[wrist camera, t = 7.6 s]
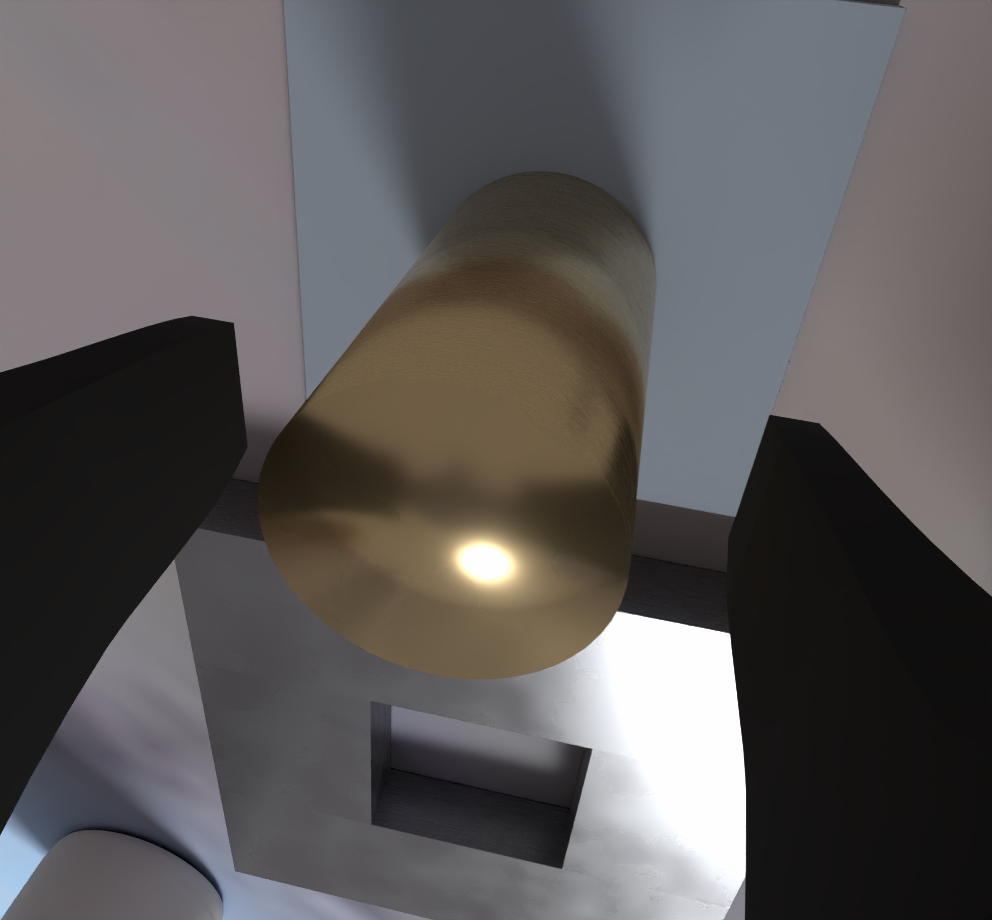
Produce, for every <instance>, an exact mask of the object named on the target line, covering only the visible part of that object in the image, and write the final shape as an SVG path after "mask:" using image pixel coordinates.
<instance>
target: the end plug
mask: <svg viewBox="0 0 992 920" xmlns="http://www.w3.org/2000/svg"><path fill="white" fill-rule="evenodd" d="M655 300H656V269H655V262H654V258H653V255H652V251H651V248H650V245H649V243H648V241H647V239H646V236H645V234H644V232H643V231H642V229H641V227H640V226H639V224H638V223H637V221H636V220H635V218H634V217H633V216H632V215H631V214H630V212H629V211H628V210H627V209H626V208H625V207H624V206H623V205H622V204H621V203H620V202H619V201H618V200H617V199H616V198H615V197H613V196H612V195H610V194H609V193H607V192H606V191H605V190H603V189H602V188H600V187H598V186H596V185H594V184H592V183H590V182H588V181H586V180H583V179H580V178H578V177H575V176H572V175H567V174H563V173H558V172H547V171H534V172H523V173H518V174H513V175H509V176H506V177H503V178H500V179H497V180H495V181H493V182H491V183H489V184H487V185H485V186H483V187H482V188H480V189H479V190H477V191H476V192H475V193H473V194H472V195H470V196H469V197H468V198H467V199H466V200H465V201H464V202H463V203H462V204H461V205H460V206H459V207H458V208H457V210H456V211H455V212H454V213H453V215H452V216H451V217H450V219H449V220H448V221H447V222H446V224H445V225H444V226H443V227H442V229H441V230H440V231H439V233H438V234H437V235H436V236H435V238H434V239H433V240H432V241H431V243H430V244H429V245H428V246H427V248H426V249H425V250H424V252H423V253H422V254H421V255H420V257H419V258H418V259H417V260H416V262H415V263H414V264H413V266H412V267H411V268H410V269H409V271H408V272H407V273H406V274H405V276H404V277H403V278H402V279H401V281H400V282H399V283H398V285H397V286H396V287H395V288H394V290H393V291H392V292H391V293H390V295H389V296H388V297H387V299H386V300H385V301H384V302H383V304H382V305H381V306H380V307H379V309H378V310H377V311H376V312H375V314H374V315H373V316H372V318H371V319H370V320H369V321H368V323H367V324H366V325H365V326H364V328H363V329H362V330H361V332H360V333H359V334H358V335H357V337H356V338H355V339H354V340H353V342H352V343H351V344H350V346H349V347H348V348H347V349H346V351H345V352H344V353H343V354H342V356H341V357H340V358H339V359H338V361H337V362H336V363H335V365H334V366H333V367H332V368H331V370H330V371H329V372H328V373H327V375H326V376H325V377H324V379H323V380H322V381H321V382H320V384H319V385H318V386H317V387H316V389H315V390H314V391H313V392H312V394H311V395H310V396H309V398H308V399H307V400H306V401H305V403H304V404H303V405H302V406H301V408H300V409H299V410H298V412H297V413H296V414H295V415H294V417H293V418H292V419H291V420H290V422H289V423H288V424H287V425H286V427H285V428H284V429H283V431H282V432H281V433H280V434H279V436H278V437H277V438H276V439H275V441H274V443H273V445H272V447H271V449H270V450H269V452H268V454H267V456H266V459H265V462H264V465H263V468H262V471H261V474H260V480H259V488H258V513H259V519H260V524H261V530H262V533H263V536H264V539H265V542H266V545H267V548H268V551H269V553H270V555H271V557H272V559H273V561H274V563H275V565H276V567H277V569H278V570H279V572H280V573H281V575H282V576H283V578H284V579H285V581H286V583H287V584H288V585H289V587H290V588H291V589H292V590H293V592H294V593H295V594H296V595H297V596H298V598H299V599H300V600H301V601H302V602H303V603H304V604H305V605H306V606H307V607H308V608H309V609H310V610H311V611H312V612H313V613H314V614H315V615H316V616H317V617H318V618H319V619H321V620H322V621H323V622H324V623H325V624H327V625H328V626H329V627H330V628H331V629H333V630H334V631H336V632H337V633H339V634H340V635H341V636H343V637H344V638H346V639H347V640H349V641H350V642H352V643H354V644H356V645H357V646H359V647H361V648H363V649H364V650H366V651H368V652H370V653H372V654H374V655H377V656H379V657H381V658H383V659H385V660H387V661H390V662H393V663H395V664H398V665H401V666H404V667H407V668H409V669H413V670H417V671H421V672H425V673H428V674H433V675H439V676H444V677H450V678H460V679H472V680H479V679H502V678H511V677H517V676H522V675H527V674H531V673H535V672H538V671H541V670H544V669H547V668H550V667H553V666H555V665H557V664H559V663H561V662H563V661H565V660H567V659H569V658H571V657H573V656H574V655H576V654H577V653H579V652H580V651H582V650H583V649H585V648H586V647H587V646H589V645H590V644H591V643H592V642H593V641H594V640H595V639H596V638H597V637H598V636H600V635H601V633H602V632H603V631H604V630H605V628H606V627H607V626H608V625H609V623H610V622H611V621H612V619H613V617H614V616H615V614H616V612H617V610H618V608H619V607H620V605H621V602H622V599H623V596H624V593H625V591H626V588H627V582H628V576H629V569H630V560H631V550H632V539H633V529H634V519H635V508H636V498H637V488H638V477H639V467H640V456H641V446H642V436H643V425H644V415H645V404H646V394H647V384H648V373H649V363H650V352H651V342H652V332H653V321H654V311H655Z"/></svg>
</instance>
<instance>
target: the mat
mask: <svg viewBox="0 0 992 920" xmlns="http://www.w3.org/2000/svg"><path fill="white" fill-rule="evenodd" d="M905 11H906V8H904V7H902V6H898V5H889V4H881V3H872V2H863V1H855V0H284V16H285V33H286V50H287V68H288V85H289V102H290V119H291V137H292V154H293V171H294V189H295V206H296V223H297V240H298V258H299V275H300V292H301V310H302V327H303V344H304V361H305V379H306V396H307V399H308V398H309V396H310V395H311V394H312V392H313V391H314V390H315V389H316V387H317V386H318V385H319V384H320V382H321V381H322V380H323V379H324V377H325V376H326V375H327V373H328V372H329V371H330V370H331V368H332V367H333V366H334V365H335V363H336V362H337V361H338V359H339V358H340V357H341V356H342V354H343V353H344V352H345V351H346V349H347V348H348V347H349V346H350V344H351V343H352V342H353V340H354V339H355V338H356V337H357V335H358V334H359V333H360V332H361V330H362V329H363V328H364V326H365V325H366V324H367V323H368V321H369V320H370V319H371V318H372V316H373V315H374V314H375V312H376V311H377V310H378V309H379V307H380V306H381V305H382V304H383V302H384V301H385V300H386V299H387V297H388V296H389V295H390V293H391V292H392V291H393V290H394V288H395V287H396V286H397V285H398V283H399V282H400V281H401V279H402V278H403V277H404V276H405V274H406V273H407V272H408V271H409V269H410V268H411V267H412V266H413V264H414V263H415V262H416V260H417V259H418V258H419V257H420V255H421V254H422V253H423V252H424V250H425V249H426V248H427V246H428V245H429V244H430V243H431V241H432V240H433V239H434V238H435V236H436V235H437V234H438V233H439V231H440V230H441V229H442V227H443V226H444V225H445V224H446V222H447V221H448V220H449V219H450V217H451V216H452V215H453V213H454V212H455V211H456V210H457V208H458V207H459V206H460V205H461V204H462V203H463V202H464V201H465V200H466V199H467V198H468V197H469V196H470V195H472V194H473V193H475V192H476V191H477V190H479V189H480V188H482V187H483V186H485V185H487V184H489V183H491V182H493V181H495V180H497V179H500V178H503V177H506V176H509V175H513V174H518V173H523V172H534V171H547V172H558V173H563V174H567V175H572V176H575V177H578V178H580V179H583V180H586V181H588V182H590V183H592V184H594V185H596V186H598V187H600V188H602V189H603V190H605V191H606V192H607V193H609V194H610V195H612V196H613V197H615V198H616V199H617V200H618V201H619V202H620V203H621V204H622V205H623V206H624V207H625V208H626V209H627V210H628V211H629V212H630V214H631V215H632V216H633V217H634V218H635V220H636V221H637V223H638V224H639V226H640V227H641V229H642V231H643V232H644V234H645V236H646V239H647V241H648V243H649V245H650V248H651V251H652V255H653V258H654V262H655V269H656V300H655V311H654V321H653V332H652V342H651V352H650V363H649V373H648V384H647V394H646V404H645V415H644V425H643V436H642V446H641V456H640V467H639V477H638V488H637V498H636V499H640V500H645V501H651V502H656V503H661V504H667V505H672V506H678V507H683V508H689V509H694V510H700V511H705V512H711V513H716V514H721V515H727V516H732V517H736V514H737V511H738V508H739V505H740V502H741V499H742V496H743V493H744V490H745V487H746V484H747V481H748V478H749V475H750V472H751V469H752V466H753V463H754V460H755V457H756V454H757V451H758V448H759V445H760V442H761V439H762V436H763V433H764V430H765V427H766V424H767V421H768V418H769V415H771V413H772V410H773V407H774V404H775V401H776V398H777V395H778V392H779V389H780V386H781V383H782V380H783V377H784V374H785V371H786V368H787V365H788V362H789V359H790V356H791V353H792V350H793V347H794V344H795V341H796V338H797V335H798V332H799V329H800V326H801V323H802V320H803V317H804V314H805V311H806V308H807V305H808V302H809V299H810V296H811V293H812V290H813V287H814V284H815V281H816V278H817V275H818V272H819V269H820V266H821V263H822V260H823V257H824V254H825V251H826V248H827V245H828V242H829V239H830V236H831V233H832V230H833V227H834V224H835V221H836V218H837V215H838V212H839V209H840V206H841V203H842V200H843V197H844V194H845V191H846V188H847V185H848V182H849V179H850V176H851V173H852V170H853V167H854V164H855V161H856V158H857V155H858V152H859V149H860V146H861V143H862V140H863V137H864V134H865V131H866V128H867V125H868V122H869V119H870V116H871V113H872V110H873V107H874V104H875V101H876V98H877V95H878V92H879V89H880V86H881V83H882V80H883V77H884V74H885V71H886V68H887V65H888V62H889V59H890V56H891V53H892V50H893V47H894V44H895V41H896V38H897V35H898V32H899V29H900V26H901V23H902V20H903V17H904V14H905Z"/></svg>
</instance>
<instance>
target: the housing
mask: <svg viewBox="0 0 992 920" xmlns="http://www.w3.org/2000/svg"><path fill="white" fill-rule="evenodd" d="M258 488H259V484H255V483H250V482H245V481H239V480H234V479H230V481H229V483H228V485H227V486H226V488H225V490H224V492H223V493H222V495H221V497H220V498H219V500H218V502H217V503H216V505H215V506H214V507H213V509H212V510H211V512H210V513H209V514H208V516H207V517H206V518H205V520H204V521H203V522H202V523H201V525H200V526H199V527H198V529H197V530H196V531H195V533H194V534H193V535H192V537H191V538H190V539H189V541H188V542H187V543H186V544H185V546H184V547H183V548H182V550H181V551H180V552H179V553H178V555H177V556H176V557H175V563H176V568H177V573H178V578H179V584H180V589H181V594H182V599H183V604H184V609H185V615H186V620H187V625H188V630H189V635H190V640H191V646H192V651H193V656H194V661H195V666H196V671H197V677H198V682H199V687H200V692H201V697H202V702H203V708H204V713H205V718H206V723H207V728H208V733H209V739H210V744H211V749H212V754H213V759H214V764H215V769H216V775H217V780H218V785H219V790H220V795H221V800H222V806H223V811H224V816H225V821H226V826H227V831H228V837H229V842H230V847H231V852H232V857H233V862H234V868H235V871H237V872H241V873H245V874H249V875H253V876H257V877H261V878H265V879H269V880H274V881H278V882H282V883H286V884H290V885H294V886H298V887H302V888H306V889H310V890H314V891H318V892H323V893H327V894H331V895H335V896H339V897H343V898H347V899H351V900H355V901H359V902H363V903H368V904H372V905H376V906H380V907H384V908H388V909H392V910H396V911H400V912H404V913H408V914H413V915H417V916H421V917H425V918H429V919H433V920H723V919H724V917H725V915H726V913H727V911H728V909H729V907H730V905H731V903H732V901H733V899H734V898H735V896H736V894H737V892H738V890H739V888H740V886H741V884H742V882H743V880H744V878H745V876H746V788H745V773H744V758H743V747H742V739H741V730H740V721H739V712H738V704H737V695H736V686H735V677H734V669H733V660H732V651H731V642H730V632H729V623H728V613H727V573H722V572H717V571H711V570H706V569H701V568H696V567H690V566H685V565H680V564H675V563H669V562H664V561H659V560H654V559H648V558H643V557H638V556H633V555H631V560H630V569H629V576H628V582H627V588H626V591H625V593H624V596H623V599H622V602H621V605H620V607H619V608H618V610H617V612H616V614H615V616H614V617H613V619H612V621H611V622H610V623H609V625H608V626H607V627H606V628H605V630H604V631H603V632H602V633H601V635H600V636H598V637H597V638H596V639H595V640H594V641H593V642H592V643H591V644H590V645H589V646H587V647H586V648H585V649H583V650H582V651H580V652H579V653H577V654H576V655H574V656H573V657H571V658H569V659H567V660H565V661H563V662H561V663H559V664H557V665H555V666H553V667H550V668H547V669H544V670H541V671H538V672H535V673H531V674H527V675H522V676H517V677H511V678H502V679H479V680H472V679H460V678H450V677H444V676H439V675H433V674H428V673H425V672H421V671H417V670H413V669H409V668H407V667H404V666H401V665H398V664H395V663H393V662H390V661H387V660H385V659H383V658H381V657H379V656H377V655H374V654H372V653H370V652H368V651H366V650H364V649H363V648H361V647H359V646H357V645H356V644H354V643H352V642H350V641H349V640H347V639H346V638H344V637H343V636H341V635H340V634H339V633H337V632H336V631H334V630H333V629H331V628H330V627H329V626H328V625H327V624H325V623H324V622H323V621H322V620H321V619H319V618H318V617H317V616H316V615H315V614H314V613H313V612H312V611H311V610H310V609H309V608H308V607H307V606H306V605H305V604H304V603H303V602H302V601H301V600H300V599H299V598H298V596H297V595H296V594H295V593H294V592H293V590H292V589H291V588H290V587H289V585H288V584H287V583H286V581H285V579H284V578H283V576H282V575H281V573H280V572H279V570H278V569H277V567H276V565H275V563H274V561H273V559H272V557H271V555H270V553H269V551H268V548H267V545H266V542H265V539H264V536H263V533H262V530H261V524H260V519H259V513H258ZM391 705H393V706H397V707H402V708H406V709H411V710H416V711H420V712H425V713H430V714H434V715H439V716H443V717H448V718H453V719H457V720H462V721H466V722H471V723H476V724H480V725H485V726H489V727H494V728H499V729H503V730H508V731H512V732H517V733H522V734H526V735H531V736H535V737H540V738H545V739H549V740H554V741H558V742H563V743H568V744H572V745H577V746H582V747H585V749H584V753H583V757H582V761H581V765H580V769H579V773H578V778H577V782H576V786H575V790H574V794H573V798H572V802H571V806H570V809H566V808H561V807H557V806H552V805H548V804H544V803H539V802H535V801H530V800H526V799H521V798H517V797H513V796H508V795H504V794H499V793H495V792H490V791H486V790H481V789H477V788H473V787H468V786H464V785H459V784H455V783H450V782H446V781H442V780H437V779H433V778H428V777H424V776H419V775H415V774H411V773H406V772H402V771H397V770H393V769H390V750H391Z"/></svg>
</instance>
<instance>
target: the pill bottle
mask: <svg viewBox="0 0 992 920" xmlns="http://www.w3.org/2000/svg"><path fill="white" fill-rule="evenodd" d="M222 919H223V904H222V901H221V898H220V896H219V894H218V893H217V891H216V890H215V888H214V887H213V886H212V884H211V883H210V882H209V881H208V880H207V879H206V878H205V877H204V876H203V875H202V874H201V873H199V872H198V871H197V870H196V869H195V868H193V867H192V866H191V865H189V864H188V863H186V862H185V861H183V860H182V859H180V858H179V857H177V856H175V855H174V854H172V853H170V852H168V851H166V850H164V849H162V848H160V847H158V846H156V845H154V844H151V843H149V842H146V841H144V840H141V839H138V838H135V837H131V836H128V835H124V834H120V833H115V832H109V831H101V830H84V831H77V832H74V833H71V834H69V835H67V836H65V837H63V838H62V839H61V840H59V841H58V842H57V843H56V844H55V845H54V846H53V847H52V848H51V850H50V851H49V852H48V854H47V855H46V856H45V857H44V858H43V859H42V861H41V862H40V864H39V865H38V866H37V868H36V869H35V871H34V872H33V874H32V875H31V877H30V878H29V880H28V881H27V882H26V884H25V885H24V887H23V888H22V890H21V891H20V893H19V894H18V896H17V897H16V898H15V900H14V901H13V903H12V904H11V906H10V907H9V909H8V910H7V912H6V913H5V914H4V916H3V917H2V919H1V920H222Z"/></svg>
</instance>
